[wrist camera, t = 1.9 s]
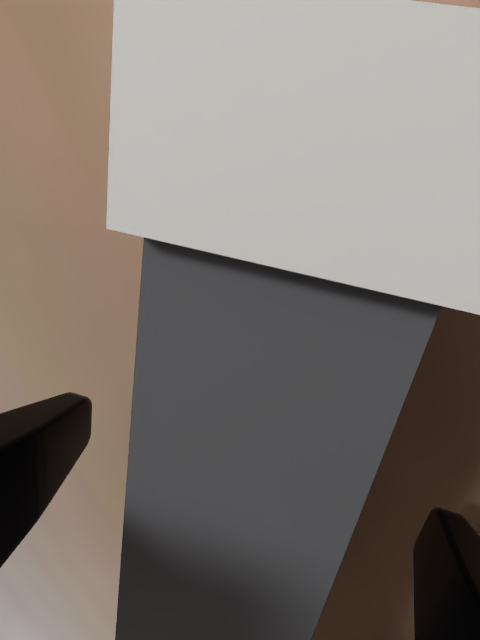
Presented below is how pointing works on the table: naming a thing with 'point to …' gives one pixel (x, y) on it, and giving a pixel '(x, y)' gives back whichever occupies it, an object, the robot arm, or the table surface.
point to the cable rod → (279, 284)
